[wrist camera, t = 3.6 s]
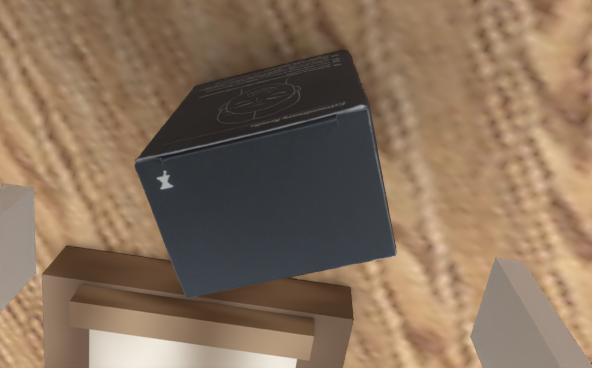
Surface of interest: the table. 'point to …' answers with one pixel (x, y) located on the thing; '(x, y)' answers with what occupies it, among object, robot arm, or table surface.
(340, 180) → the box
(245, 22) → the table surface
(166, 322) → the stand
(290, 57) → the table surface
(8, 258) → the robot arm
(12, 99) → the table surface
